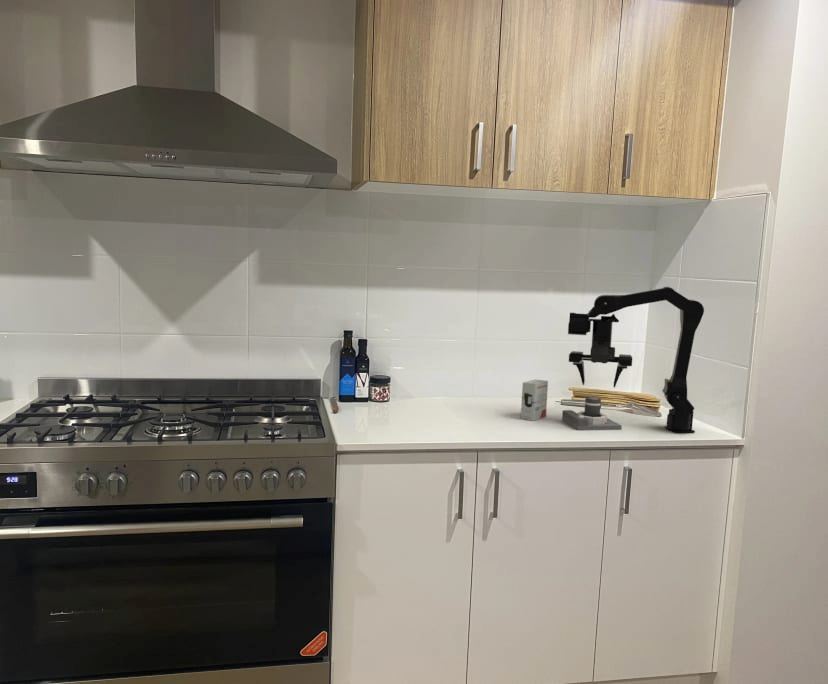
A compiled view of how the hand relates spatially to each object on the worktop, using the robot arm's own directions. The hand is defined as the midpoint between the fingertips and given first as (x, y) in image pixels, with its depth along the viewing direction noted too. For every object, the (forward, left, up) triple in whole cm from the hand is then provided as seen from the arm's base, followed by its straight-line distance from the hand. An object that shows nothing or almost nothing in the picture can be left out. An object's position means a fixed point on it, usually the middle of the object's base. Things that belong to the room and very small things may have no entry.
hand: (598, 386), depth 208 cm
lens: (+3, +2, -11) cm, 11 cm away
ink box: (+18, -8, -12) cm, 23 cm away
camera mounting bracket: (+3, +2, -12) cm, 12 cm away
